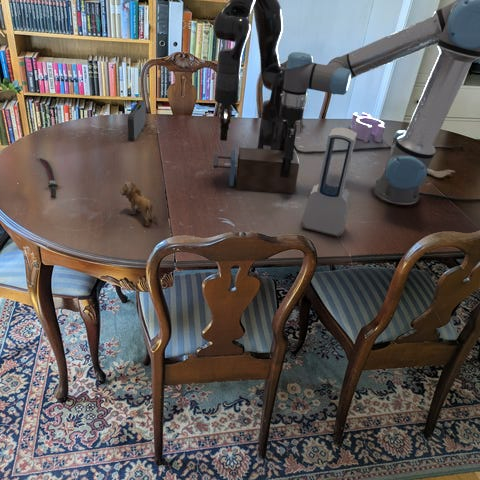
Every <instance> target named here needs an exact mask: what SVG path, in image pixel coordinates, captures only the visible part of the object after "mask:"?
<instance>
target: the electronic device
mask: <svg viewBox="0 0 480 480" xmlns="http://www.w3.org/2000/svg"><path fill="white" fill-rule="evenodd" d="M356 135H357V133H356V132H354V131H353V130H351V129H350V128H346V127H333V128H332V129H331V131H330V133H329V135H328V137H327V142H326V146H325V150H324V151H325V153H324V157H323V161H322V167H321V171H320V176H319V181H318V183H317V184H315V185H313V187H312V189H311V191H310V194H309V196H308V200H307V202H306V205H305V209H304V212H303V216H302V218H301V221H300V224H301V226H302V228H303V229H306V230H309V231H314V232H318V233H322V234H325V235H329V236H332V237H333V236H334V237H339V236H342V235H343V233H344V230H345V227H346V222H347V215H348V209H349V208H348V207H349V199H350V193H349V191H348V190H347V189H346V188H345V186H346V182H347V181H346V180H347V178H348V173H349V169H350V165H351V160H352V156H353V152H354V151H353V149H355V148H354V147H355V144H356V140H357V138H356ZM335 140H342V141H345V142H347V143H348V144H347V147H346V149H347V151H346V152H345V156H344V157H345V158H344V161H343V165H342V170H341V174H340V179H339V182H338V186H336V185H335V186H334V185H330V184H328V183H327V178H328V173H329V169H330V164H331V159H332V155H333V152H332V150H334V145H335Z"/></svg>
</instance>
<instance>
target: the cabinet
mask: <svg viewBox="0 0 480 480" xmlns="http://www.w3.org/2000/svg"><path fill="white" fill-rule="evenodd" d="M237 153H238V155H237V159H238V158H239V170H238V181H237V174H235V175H236V176H235V179H236V180H235V181H236V190H240V191H253V192H268V193H282V194H295V193H296V186H297V181H298V174H299V169H300V161H299V158H298V154H297V152H296V151H294V153H293V160H291V165H290V171H289V178H285V177H280V174H281V167H282V161H283V159H281V158H282V157H284V151H280V150H267V149H257V148H251V147H238V152H237ZM237 168H238V163H237V166H236V169H237Z"/></svg>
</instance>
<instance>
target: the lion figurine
mask: <svg viewBox="0 0 480 480" xmlns="http://www.w3.org/2000/svg"><path fill="white" fill-rule="evenodd" d="M119 193H120V194H121V196H122V197H124V196H125V198H126V199H127V200H128V202H129V203H130V207H131V211H130V212H129V213H130V215H135V214H136V211H137V212H141V214H142V216H143V218H144V219H145V223H144V225H145V227H149V226H150V221H152V223H153V225H155V226H159V222H156V221H155V219H154V217H153V216H154V215H153V204H152V202H151V200H150V199H148V198H146V197H145V196H144V195H143V194H142V192H141V190H140V187H138V185H136V184H135V183H133V182H132V181H125V182H124V186H122V188H121V189H119ZM136 207H137V208H136ZM148 214H149V216H148Z"/></svg>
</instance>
